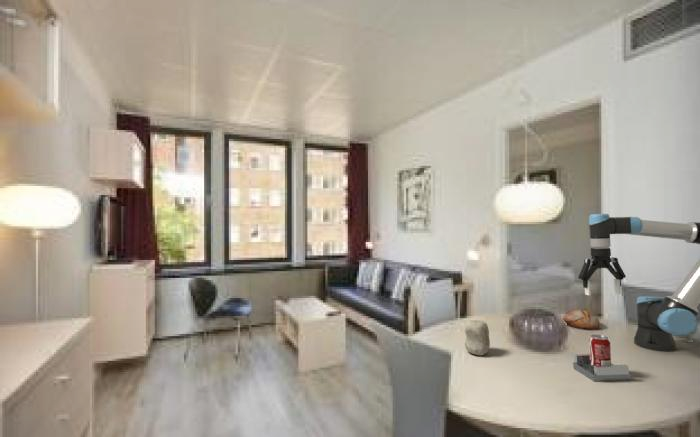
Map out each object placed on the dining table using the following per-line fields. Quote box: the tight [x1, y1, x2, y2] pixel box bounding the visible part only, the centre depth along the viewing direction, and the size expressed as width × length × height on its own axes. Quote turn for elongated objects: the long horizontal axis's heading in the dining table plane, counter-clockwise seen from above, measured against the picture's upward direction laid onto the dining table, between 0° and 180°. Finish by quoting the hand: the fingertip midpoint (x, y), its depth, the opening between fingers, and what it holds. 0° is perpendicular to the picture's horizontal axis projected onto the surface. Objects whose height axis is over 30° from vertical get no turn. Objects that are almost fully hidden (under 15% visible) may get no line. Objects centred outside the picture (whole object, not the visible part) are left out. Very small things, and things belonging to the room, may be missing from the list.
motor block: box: [572, 353, 631, 382], centre depth 140 cm, size 14×13×6 cm
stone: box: [464, 319, 491, 356], centre depth 166 cm, size 11×11×15 cm
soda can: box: [588, 334, 612, 367], centre depth 140 cm, size 7×7×12 cm
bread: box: [562, 308, 601, 331], centre depth 201 cm, size 16×20×10 cm
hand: (602, 294), depth 161 cm, fingers open, 13 cm apart
